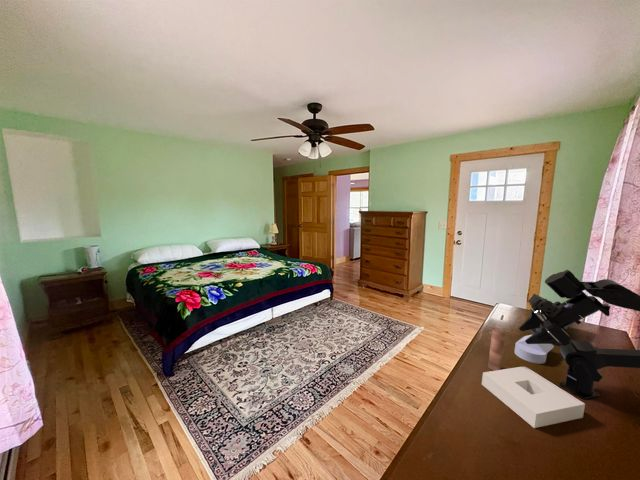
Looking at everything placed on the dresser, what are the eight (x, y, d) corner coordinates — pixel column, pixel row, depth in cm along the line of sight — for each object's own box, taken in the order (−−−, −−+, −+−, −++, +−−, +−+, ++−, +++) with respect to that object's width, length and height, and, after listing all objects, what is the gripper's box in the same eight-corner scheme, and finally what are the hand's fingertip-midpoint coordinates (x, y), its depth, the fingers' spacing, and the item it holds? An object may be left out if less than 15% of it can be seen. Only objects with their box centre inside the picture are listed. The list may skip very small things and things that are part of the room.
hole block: (523, 377, 83) (524, 366, 82) (582, 417, 68) (585, 404, 67) (481, 384, 80) (483, 372, 79) (534, 428, 64) (536, 413, 64)
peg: (494, 364, 90) (498, 329, 88) (503, 370, 86) (508, 334, 85) (485, 365, 89) (489, 330, 87) (494, 371, 86) (499, 335, 84)
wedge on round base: (523, 343, 103) (510, 354, 96) (525, 328, 102) (512, 337, 95) (552, 354, 96) (540, 366, 89) (555, 338, 95) (543, 348, 88)
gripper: (542, 280, 86) (499, 305, 93) (561, 298, 70) (507, 327, 77) (570, 307, 83) (524, 331, 90) (597, 332, 67) (538, 359, 74)
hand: (522, 335), depth 83 cm, fingers open, 9 cm apart
